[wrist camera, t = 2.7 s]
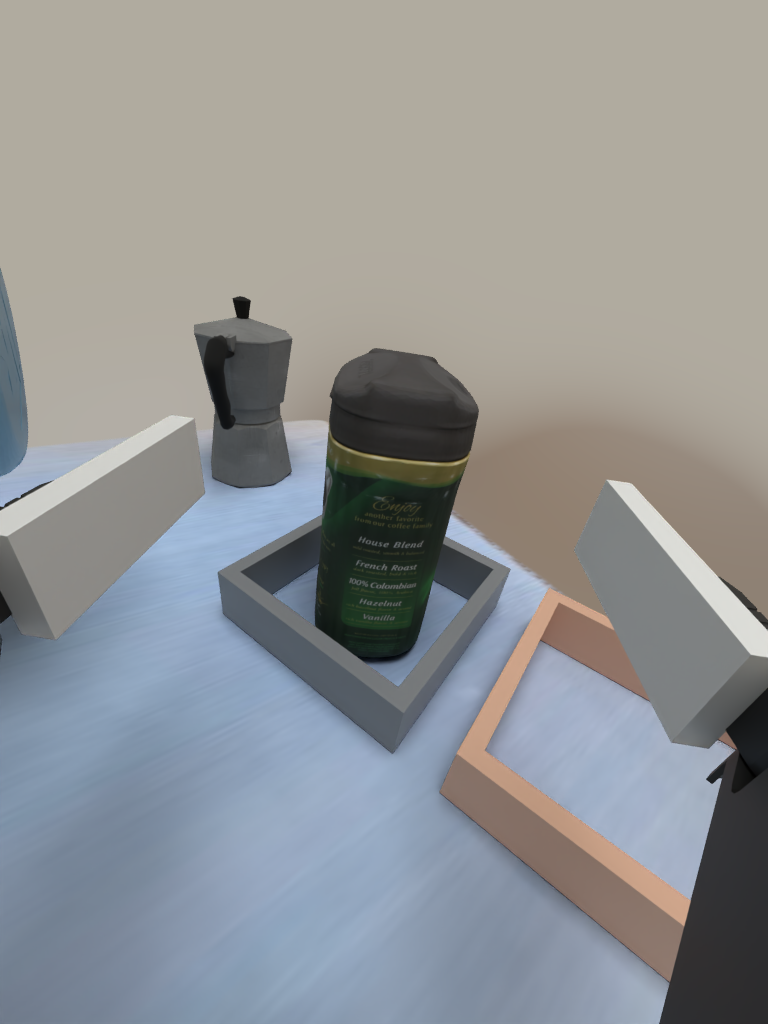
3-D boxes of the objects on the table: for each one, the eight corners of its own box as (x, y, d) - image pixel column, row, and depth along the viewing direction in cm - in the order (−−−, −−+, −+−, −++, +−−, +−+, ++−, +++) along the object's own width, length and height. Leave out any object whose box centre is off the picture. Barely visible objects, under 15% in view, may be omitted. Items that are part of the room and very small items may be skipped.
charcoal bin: (223, 613, 29) (217, 572, 27) (355, 528, 40) (359, 493, 37) (392, 753, 22) (403, 713, 20) (496, 605, 33) (510, 569, 31)
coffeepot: (230, 442, 52) (216, 284, 42) (302, 450, 53) (305, 297, 43) (176, 504, 39) (139, 298, 30) (273, 515, 40) (267, 316, 30)
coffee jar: (425, 668, 27) (509, 397, 17) (307, 660, 26) (323, 372, 16) (413, 572, 35) (465, 350, 25) (322, 563, 34) (339, 332, 24)
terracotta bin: (439, 792, 21) (456, 753, 19) (531, 624, 32) (549, 588, 29) (802, 1091, 14) (893, 1085, 12) (762, 751, 25) (806, 716, 23)
